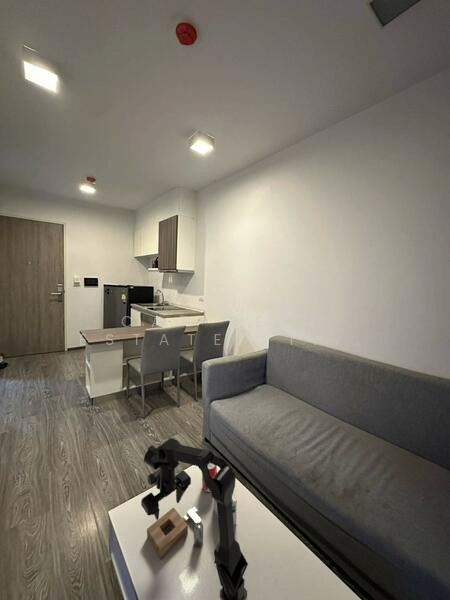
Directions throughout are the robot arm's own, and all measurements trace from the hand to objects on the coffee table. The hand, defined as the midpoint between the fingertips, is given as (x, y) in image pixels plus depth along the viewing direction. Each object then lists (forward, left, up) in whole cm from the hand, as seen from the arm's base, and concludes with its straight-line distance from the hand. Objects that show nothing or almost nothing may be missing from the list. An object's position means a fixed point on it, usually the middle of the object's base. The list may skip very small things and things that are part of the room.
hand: (167, 510), depth 90 cm
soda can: (+5, -26, -11) cm, 29 cm away
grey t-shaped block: (-3, -11, -11) cm, 16 cm away
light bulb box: (-10, -22, -11) cm, 26 cm away
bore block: (0, 0, -11) cm, 11 cm away
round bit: (-10, -7, -11) cm, 17 cm away
